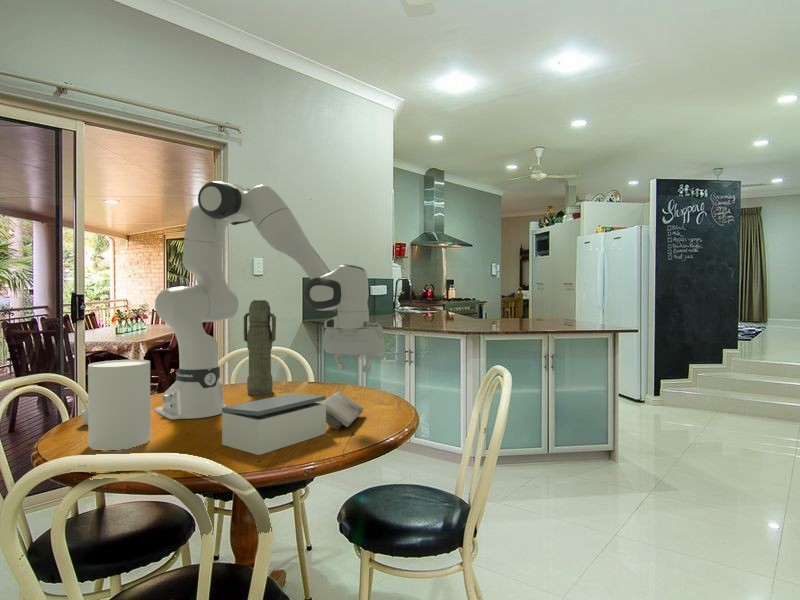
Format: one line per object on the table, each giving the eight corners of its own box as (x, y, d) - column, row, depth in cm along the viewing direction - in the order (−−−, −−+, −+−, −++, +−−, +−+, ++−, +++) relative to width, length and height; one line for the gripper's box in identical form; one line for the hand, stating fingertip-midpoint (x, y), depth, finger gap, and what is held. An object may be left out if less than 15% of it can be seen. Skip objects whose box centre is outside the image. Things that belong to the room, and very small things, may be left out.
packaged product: (357, 421, 152) (330, 402, 153) (365, 408, 151) (338, 389, 153) (341, 437, 134) (310, 416, 135) (350, 422, 134) (320, 401, 135)
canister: (137, 432, 135) (136, 358, 135) (160, 441, 126) (159, 362, 126) (80, 443, 125) (79, 363, 124) (100, 455, 116) (100, 368, 116)
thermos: (272, 398, 179) (272, 300, 178) (240, 398, 179) (239, 300, 179) (279, 393, 188) (279, 300, 187) (248, 393, 188) (247, 300, 188)
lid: (222, 411, 124) (221, 407, 124) (290, 397, 142) (289, 393, 142) (258, 415, 115) (258, 411, 116) (325, 399, 133) (325, 395, 133)
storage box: (222, 444, 124) (222, 412, 124) (290, 425, 142) (290, 397, 142) (258, 455, 116) (258, 420, 115) (326, 433, 133) (325, 403, 133)
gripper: (389, 321, 138) (389, 372, 138) (335, 320, 150) (335, 366, 150) (374, 323, 133) (375, 374, 133) (320, 321, 145) (320, 369, 145)
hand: (353, 370), depth 142 cm, fingers open, 8 cm apart
